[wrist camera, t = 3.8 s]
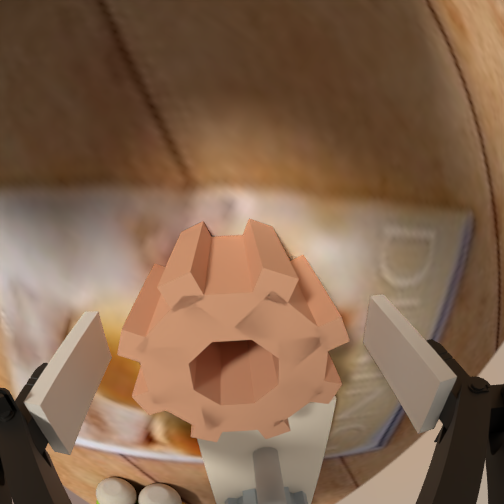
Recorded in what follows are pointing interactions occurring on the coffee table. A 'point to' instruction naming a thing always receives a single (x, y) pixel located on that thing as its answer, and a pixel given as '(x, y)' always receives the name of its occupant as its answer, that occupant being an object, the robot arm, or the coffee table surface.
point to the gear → (233, 334)
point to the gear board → (291, 453)
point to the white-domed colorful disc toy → (134, 493)
